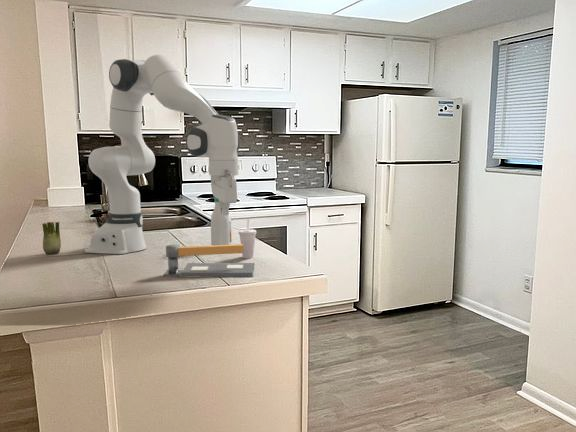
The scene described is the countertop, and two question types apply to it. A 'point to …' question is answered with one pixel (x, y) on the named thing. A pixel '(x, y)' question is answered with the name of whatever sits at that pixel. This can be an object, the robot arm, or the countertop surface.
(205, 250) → the strip
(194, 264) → the tray
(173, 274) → the pivot post
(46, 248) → the fennel bulb
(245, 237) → the smoothie
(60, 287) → the countertop surface
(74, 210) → the countertop surface
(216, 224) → the milk bottle
